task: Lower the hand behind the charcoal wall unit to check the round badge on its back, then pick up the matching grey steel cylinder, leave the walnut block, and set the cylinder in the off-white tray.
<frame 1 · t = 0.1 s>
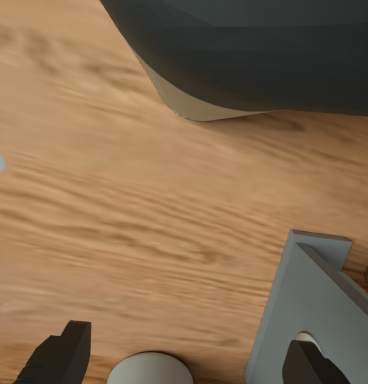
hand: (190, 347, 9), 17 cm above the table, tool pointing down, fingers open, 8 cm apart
cylinder vase: (151, 379, 34), on the table
wall unit: (289, 312, 30), on the table
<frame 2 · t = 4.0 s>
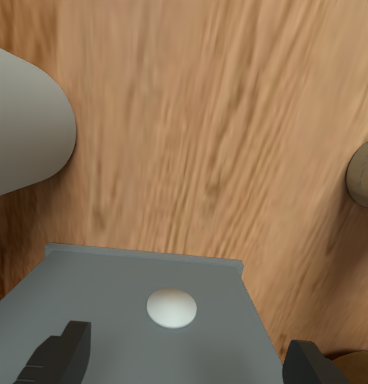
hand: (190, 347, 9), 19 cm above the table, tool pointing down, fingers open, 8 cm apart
cylinder vase: (20, 124, 24), on the table
ceramic pitcher: (345, 380, 36), on the table
wall unit: (146, 275, 29), on the table
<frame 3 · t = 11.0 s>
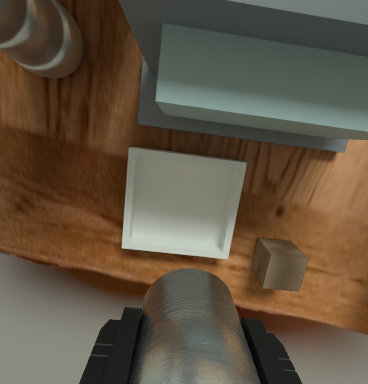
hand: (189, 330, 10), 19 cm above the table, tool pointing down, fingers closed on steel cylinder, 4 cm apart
tray: (181, 201, 28), on the table
wall unit: (246, 107, 26), on the table
steel cylinder: (188, 307, 11), point 18 cm above the table, touching gripper
walnut block: (270, 253, 31), on the table
plastic bottle: (60, 50, 24), on the table
when the fingers open (3 cm above the table, at t = 14.3 s): steel cylinder drops 1 cm, resting on tray.
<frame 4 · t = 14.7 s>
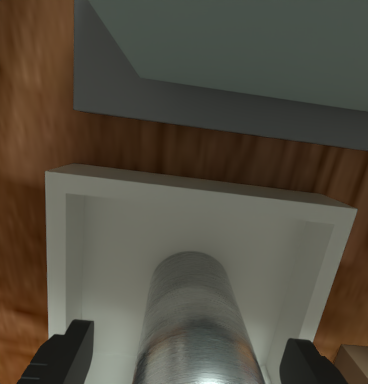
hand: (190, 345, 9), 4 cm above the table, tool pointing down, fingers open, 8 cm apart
tray: (186, 279, 13), on the table
wall unit: (347, 69, 11), on the table
steel cylinder: (189, 286, 13), point 1 cm above the table, touching tray
walnut block: (361, 371, 15), on the table
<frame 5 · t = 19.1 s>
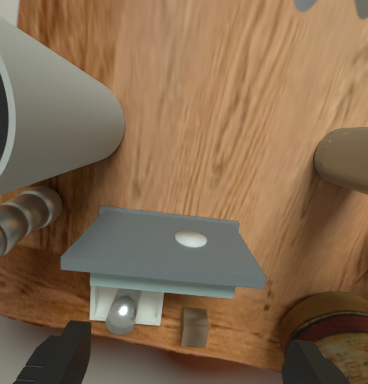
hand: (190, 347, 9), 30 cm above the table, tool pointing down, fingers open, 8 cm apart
cylinder vase: (86, 121, 35), on the table
ceramic pitcher: (319, 320, 46), on the table
tray: (130, 286, 43), on the table
wall unit: (168, 231, 40), on the table
steel cylinder: (130, 288, 42), point 1 cm above the table, touching tray
walnut block: (193, 317, 45), on the table
plastic bottle: (48, 201, 38), on the table
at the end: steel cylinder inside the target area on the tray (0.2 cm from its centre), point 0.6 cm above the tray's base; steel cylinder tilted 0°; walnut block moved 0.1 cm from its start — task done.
